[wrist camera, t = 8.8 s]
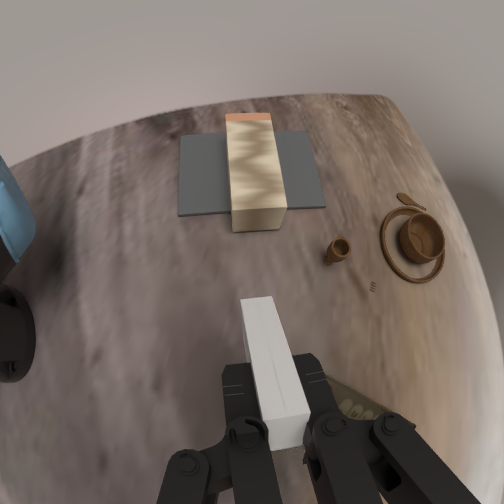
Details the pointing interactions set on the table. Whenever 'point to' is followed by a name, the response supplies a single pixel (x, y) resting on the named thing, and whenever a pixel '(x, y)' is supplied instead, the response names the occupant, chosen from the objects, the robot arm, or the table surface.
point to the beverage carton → (356, 403)
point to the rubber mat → (217, 182)
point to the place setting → (404, 241)
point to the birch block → (254, 173)
